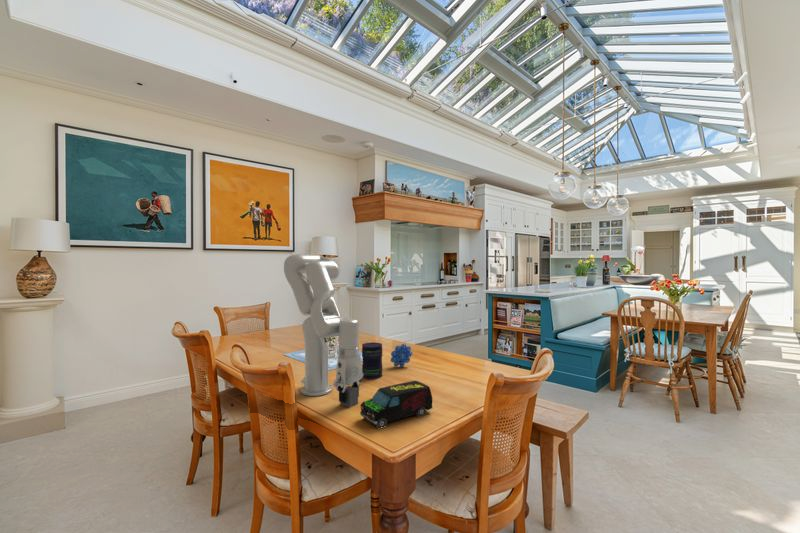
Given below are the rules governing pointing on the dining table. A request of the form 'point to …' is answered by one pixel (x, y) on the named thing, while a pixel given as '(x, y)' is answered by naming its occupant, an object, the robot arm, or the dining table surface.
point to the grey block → (351, 396)
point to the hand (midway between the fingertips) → (349, 398)
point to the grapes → (401, 355)
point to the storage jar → (372, 360)
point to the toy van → (397, 403)
